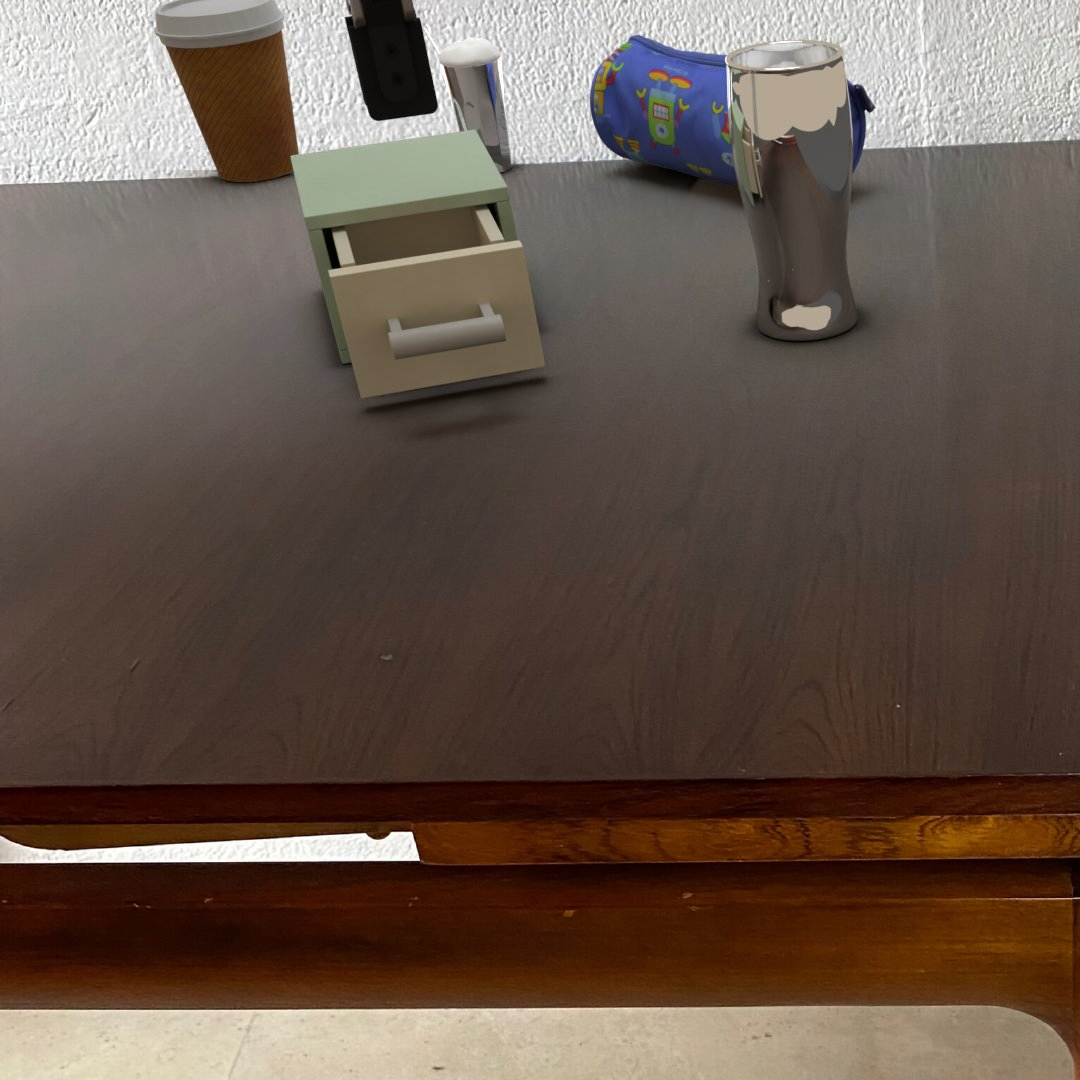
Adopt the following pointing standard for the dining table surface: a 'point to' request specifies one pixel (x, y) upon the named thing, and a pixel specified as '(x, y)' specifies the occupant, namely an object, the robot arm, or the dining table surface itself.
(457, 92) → the milkshake
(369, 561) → the dining table surface
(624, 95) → the pencil case
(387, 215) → the cabinet
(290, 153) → the disposable coffee cup
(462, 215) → the drawer
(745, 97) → the beer glass
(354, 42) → the robot arm
